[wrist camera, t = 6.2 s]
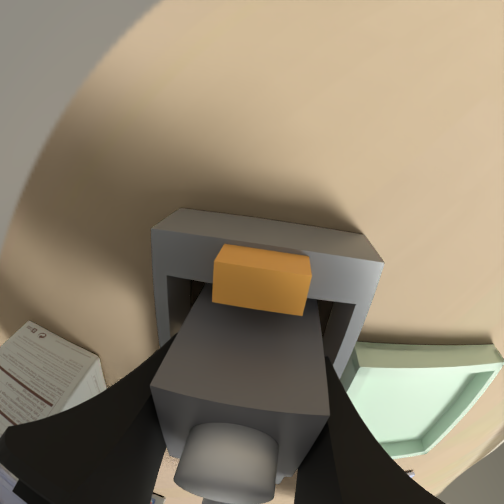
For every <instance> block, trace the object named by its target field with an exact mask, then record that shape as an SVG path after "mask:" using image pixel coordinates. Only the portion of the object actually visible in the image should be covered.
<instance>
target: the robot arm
mask: <svg viewBox="0 0 504 504" xmlns="http://www.w3.org/2000/svg"><path fill="white" fill-rule="evenodd" d="M177 334H178V333H176V334H175V335H174V336H173V337H172V338H170V339H169V340H168V341H167V342H166V343H165V344H164V345H163V346H162V347H161V348H159V349H158V350H157V351H156V352H155V353H154V354H153V355H152V356H150V357H149V358H148V359H147V360H146V361H144V362H143V363H142V364H141V365H139V366H138V367H137V368H136V369H134V370H133V371H132V372H130V373H129V374H128V375H126V376H125V377H124V378H122V379H121V380H119V381H118V382H117V383H115V384H114V385H112V386H111V387H109V388H108V389H106V390H104V391H103V392H101V393H99V394H98V395H96V396H94V397H92V398H91V399H89V400H87V401H85V402H83V403H81V404H79V405H77V406H74V407H72V408H70V409H68V410H65V411H63V412H60V413H57V414H54V415H52V416H49V417H46V418H43V419H40V420H36V421H32V422H28V423H23V424H19V425H14V426H8V427H7V429H6V430H5V432H4V433H3V434H2V436H1V437H0V463H1V464H2V465H3V466H4V467H5V468H6V469H7V470H8V471H10V472H11V473H12V474H13V475H14V476H15V477H17V478H18V479H19V480H18V481H17V480H16V479H15V478H13V477H12V476H11V474H10V473H9V472H8V471H7V470H6V469H5V468H4V467H3V466H1V465H0V504H150V502H151V498H152V494H153V490H154V486H155V482H156V479H157V475H158V472H159V468H160V465H161V462H162V459H163V455H164V452H165V450H166V447H167V446H166V443H165V440H164V437H163V433H162V430H161V426H160V423H159V419H158V416H157V412H156V408H155V405H154V401H153V397H152V392H151V388H150V384H151V382H152V380H153V378H154V376H155V375H156V373H157V371H158V369H159V367H160V365H161V363H162V361H163V360H164V358H165V356H166V354H167V352H168V350H169V348H170V347H171V345H172V343H173V341H174V339H175V337H176V336H177ZM324 358H325V367H326V377H327V387H328V398H329V409H330V416H329V418H328V420H327V422H326V424H325V425H324V427H323V429H322V430H321V432H320V434H319V436H318V437H317V439H316V440H315V442H314V444H313V445H312V447H311V449H310V450H309V452H308V453H307V455H306V456H305V458H304V459H303V461H302V463H301V464H300V466H299V467H298V472H297V484H296V493H295V500H294V504H445V503H444V502H442V501H441V500H439V499H438V498H436V497H435V496H433V495H432V494H431V493H429V492H428V491H426V490H425V489H424V488H423V487H421V486H420V485H419V484H418V483H417V482H415V481H414V480H413V479H412V477H413V476H414V475H415V473H414V472H410V473H406V472H405V471H404V470H403V469H402V468H401V467H400V466H399V465H398V464H397V463H396V462H395V461H394V460H393V459H392V458H391V457H390V456H389V455H388V453H387V452H386V451H385V450H384V449H383V447H382V446H381V445H380V444H379V442H378V441H377V440H376V438H375V437H374V436H373V434H372V433H371V432H370V430H369V429H368V427H367V426H366V424H365V423H364V421H363V420H362V418H361V417H360V415H359V413H358V412H357V410H356V408H355V407H354V405H353V403H352V401H351V400H350V398H349V396H348V394H347V393H346V391H345V389H344V387H343V385H342V383H341V381H340V379H339V377H338V375H337V373H336V371H335V369H334V367H333V365H332V363H331V360H330V359H329V357H328V356H324Z"/></svg>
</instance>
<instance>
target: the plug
mask: <svg viewBox="0 0 504 504" xmlns="http://www.w3.org/2000/svg"><path fill="white" fill-rule="evenodd" d="M212 291H213V284H212V283H206V284H205V285H204V287H203V289H202V291H201V292H200V294H199V296H198V298H197V300H196V301H195V303H194V305H193V307H192V308H191V310H190V312H189V314H188V316H187V317H186V319H185V321H184V323H183V325H182V327H181V328H180V330H179V332H178V334H177V336H176V337H175V339H174V341H173V343H172V345H171V347H170V348H169V350H168V352H167V354H166V356H165V358H164V360H163V361H162V363H161V365H160V367H159V369H158V371H157V373H156V375H155V376H154V378H153V380H152V382H151V384H150V388H151V392H152V397H153V401H154V405H155V408H156V412H157V416H158V419H159V423H160V426H161V430H162V433H163V437H164V440H165V443H166V446H167V449H168V452H169V455H170V456H172V457H176V458H179V459H180V461H179V464H178V467H177V470H176V473H175V476H174V482H175V483H176V484H177V485H178V486H179V487H181V488H182V489H184V490H186V491H188V492H190V493H192V494H195V495H197V496H200V497H203V498H206V499H210V500H214V501H218V502H223V503H230V504H261V503H266V502H269V501H271V500H272V499H273V498H274V492H275V483H276V476H286V477H292V476H293V474H294V473H295V471H296V470H297V468H298V467H299V466H300V464H301V463H302V461H303V459H304V458H305V456H306V455H307V453H308V452H309V450H310V449H311V447H312V445H313V444H314V442H315V440H316V439H317V437H318V436H319V434H320V432H321V430H322V429H323V427H324V425H325V424H326V422H327V420H328V418H329V416H330V409H329V398H328V387H327V377H326V367H325V358H324V349H323V341H322V333H321V326H320V318H319V311H318V304H317V299H312V298H307V299H306V303H305V307H304V311H303V315H302V316H299V315H291V314H284V313H277V312H270V311H264V310H257V309H251V308H244V307H238V306H232V305H226V304H221V303H215V302H212Z"/></svg>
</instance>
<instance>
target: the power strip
mask: <svg viewBox="0 0 504 504" xmlns="http://www.w3.org/2000/svg"><path fill="white" fill-rule="evenodd" d="M151 248H152V270H153V285H154V298H155V309H156V319H157V329H158V337H159V345H160V348H161V347H162V346H163V345H164V344H165V343H166V342H167V341H168V340H169V339H170V338H172V337H173V336H174V335H175V334H176V333H178V332H179V330H180V328H181V327H182V325H183V323H184V321H185V319H186V317H187V316H188V314H189V312H190V310H191V280H196V281H201V282H207V283H213V291H212V302H215V303H221V304H226V305H232V306H238V307H244V308H251V309H257V310H264V311H270V312H277V313H284V314H291V315H299V316H302V315H303V311H304V307H305V303H306V299H307V298H312V299H319V300H327V301H334V304H333V307H332V310H331V314H330V317H329V320H328V323H327V326H326V329H325V333H324V336H323V339H322V341H323V349H324V356H328V357H329V359H330V360H331V363H332V365H333V367H334V369H335V371H336V373H337V375H338V377H339V379H340V378H341V375H342V373H343V371H344V369H345V367H346V365H347V362H348V360H349V358H350V356H351V353H352V351H353V349H354V346H355V344H356V341H357V339H358V337H359V334H360V332H361V329H362V327H363V324H364V321H365V319H366V316H367V314H368V311H369V308H370V305H371V303H372V300H373V297H374V294H375V291H376V288H377V285H378V282H379V279H380V276H381V273H382V270H383V267H384V261H383V260H382V258H381V257H380V255H379V254H378V253H377V251H376V250H375V248H374V247H373V246H372V244H371V243H370V242H369V240H368V239H367V237H366V236H365V235H363V234H357V233H351V232H346V231H340V230H334V229H328V228H321V227H315V226H309V225H302V224H296V223H289V222H283V221H276V220H269V219H262V218H255V217H247V216H240V215H233V214H225V213H217V212H209V211H201V210H192V209H184V208H179V209H178V210H176V211H175V212H174V213H172V214H171V215H169V216H168V217H166V218H165V219H163V220H162V221H161V222H159V223H158V224H156V225H155V226H154V227H152V228H151ZM283 478H284V476H276V483H275V484H280V482H281V481H282V479H283Z"/></svg>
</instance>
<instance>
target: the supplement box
mask: <svg viewBox="0 0 504 504" xmlns="http://www.w3.org/2000/svg"><path fill="white" fill-rule="evenodd" d="M106 389H107V388H106V384H105V380H104V377H103V372H102V368H101V363H100V358H99V357H98V356H97V355H96V354H93V353H91V352H89V351H87V350H85V349H83V348H81V347H79V346H77V345H75V344H73V343H71V342H69V341H67V340H65V339H63V338H61V337H59V336H57V335H55V334H54V333H52V332H50V331H48V330H46V329H44V328H42V327H41V326H39V325H37V324H35V323H33V322H32V321H28V322H26V323H25V324H24V325H23V326H22V327H21V328H20V329H19V330H18V331H17V332H15V333H14V334H13V335H12V336H11V337H10V338H9V339H8V340H7V341H6V342H5V343H4V344H3V345H2V346H1V347H0V437H1V436H2V434H3V433H4V432H5V430H6V429H7V427H8V426H14V425H19V424H23V423H28V422H32V421H36V420H40V419H43V418H46V417H49V416H52V415H54V414H57V413H60V412H63V411H65V410H68V409H70V408H72V407H74V406H77V405H79V404H81V403H83V402H85V401H87V400H89V399H91V398H92V397H94V396H96V395H98V394H99V393H101V392H103V391H104V390H106ZM0 465H1V466H3V465H2V464H1V463H0ZM3 467H4V466H3ZM4 468H5V467H4ZM5 469H6V468H5ZM6 470H7V469H6ZM7 471H8V470H7ZM8 472H9V473H10V474H11V476H12V477H13V478H15V479H16V480H17V481H18V480H19V479H18V478H17V477H15V476H14V475H13V474H12V473H11V472H10V471H8Z"/></svg>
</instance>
